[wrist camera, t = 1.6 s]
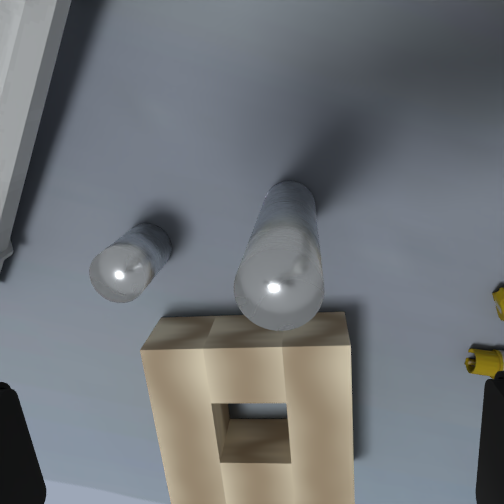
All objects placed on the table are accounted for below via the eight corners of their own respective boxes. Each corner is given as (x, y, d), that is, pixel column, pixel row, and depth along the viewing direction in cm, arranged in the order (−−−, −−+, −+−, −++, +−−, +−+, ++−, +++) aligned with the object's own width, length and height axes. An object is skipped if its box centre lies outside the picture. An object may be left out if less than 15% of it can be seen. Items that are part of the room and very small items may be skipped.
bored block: (344, 311, 28) (350, 345, 24) (348, 461, 32) (354, 511, 28) (161, 317, 29) (140, 350, 26) (186, 459, 33) (171, 506, 29)
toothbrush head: (-107, 278, 26) (-37, -266, 14) (-25, 233, 32) (72, -180, 20) (-27, 321, 27) (104, -175, 15) (40, 269, 32) (171, -116, 21)
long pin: (313, 178, 25) (322, 245, 14) (316, 229, 26) (326, 329, 15) (261, 182, 26) (228, 250, 14) (266, 232, 26) (238, 331, 15)
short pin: (167, 222, 27) (139, 248, 22) (175, 267, 28) (149, 302, 23) (121, 225, 27) (83, 251, 23) (130, 269, 28) (95, 304, 24)
